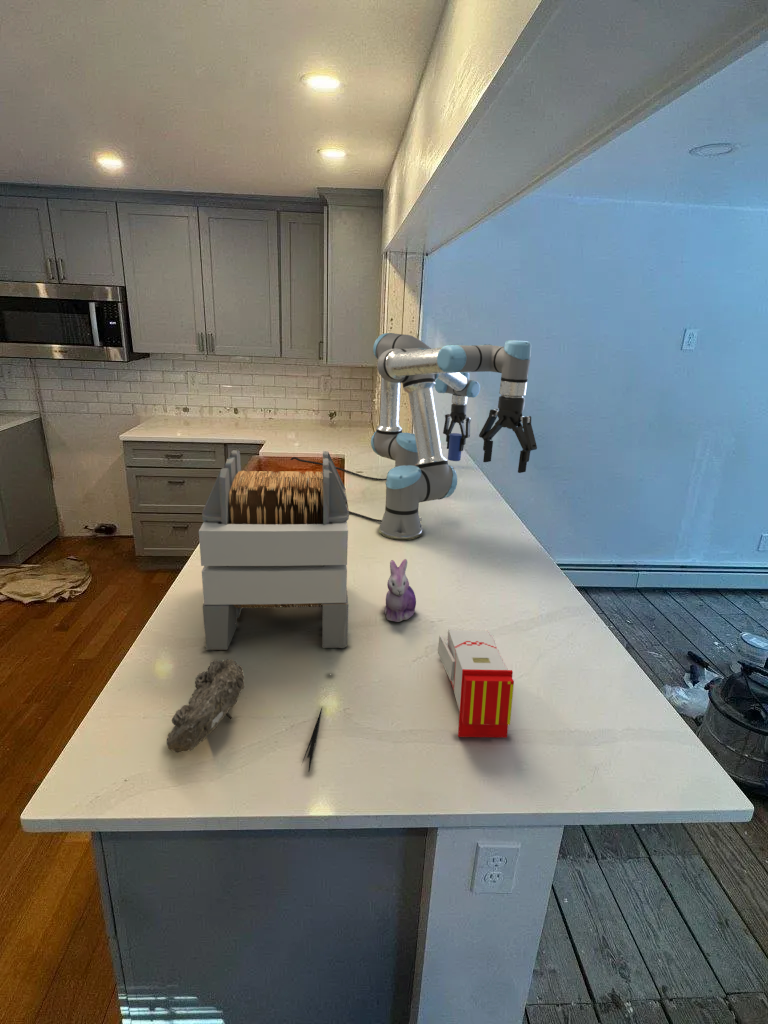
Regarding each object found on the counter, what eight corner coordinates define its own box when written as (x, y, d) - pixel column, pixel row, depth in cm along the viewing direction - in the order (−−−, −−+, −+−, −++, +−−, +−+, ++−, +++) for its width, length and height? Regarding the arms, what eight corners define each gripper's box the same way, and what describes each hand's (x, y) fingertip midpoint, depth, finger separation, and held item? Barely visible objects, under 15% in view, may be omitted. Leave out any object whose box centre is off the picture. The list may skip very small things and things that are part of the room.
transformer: (226, 583, 159) (217, 441, 145) (342, 582, 163) (345, 443, 149) (203, 652, 127) (189, 478, 114) (348, 648, 131) (352, 480, 117)
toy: (488, 613, 130) (523, 677, 101) (484, 667, 133) (517, 744, 104) (435, 612, 130) (455, 676, 101) (432, 666, 133) (451, 743, 103)
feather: (331, 679, 122) (336, 673, 122) (307, 777, 96) (313, 769, 95) (324, 675, 122) (329, 669, 121) (298, 772, 95) (304, 764, 95)
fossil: (192, 660, 117) (244, 628, 112) (224, 691, 120) (276, 661, 115) (142, 746, 98) (202, 712, 93) (182, 779, 101) (242, 748, 96)
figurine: (392, 627, 141) (395, 572, 136) (374, 608, 149) (376, 556, 144) (425, 619, 145) (429, 566, 140) (405, 601, 154) (408, 550, 149)
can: (445, 459, 288) (447, 434, 284) (452, 457, 293) (454, 432, 288) (455, 461, 284) (457, 436, 280) (463, 459, 288) (465, 434, 284)
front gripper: (556, 401, 158) (545, 475, 165) (488, 389, 176) (481, 456, 183) (539, 403, 153) (529, 478, 160) (471, 390, 172) (465, 459, 179)
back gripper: (480, 405, 277) (475, 451, 284) (445, 400, 287) (441, 445, 295) (473, 407, 271) (468, 454, 278) (438, 402, 281) (434, 447, 289)
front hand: (503, 466), depth 172 cm, fingers open, 13 cm apart
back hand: (454, 449), depth 286 cm, fingers closed on can, 6 cm apart
